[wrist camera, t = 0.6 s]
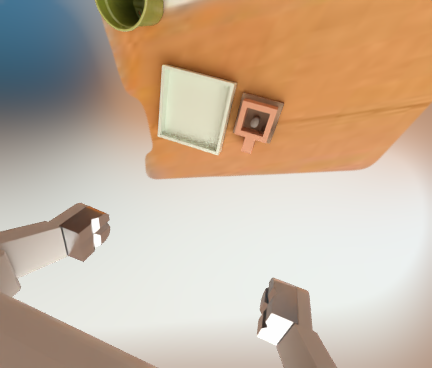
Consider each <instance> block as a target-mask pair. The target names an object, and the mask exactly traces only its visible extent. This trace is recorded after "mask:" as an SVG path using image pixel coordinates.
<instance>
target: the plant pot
mask: <svg viewBox="0 0 432 368" xmlns="http://www.w3.org/2000/svg"><path fill="white" fill-rule="evenodd" d="M95 2H96V5H97V8H98V10H99V12H100V14H101V15H102V17H103V18H104V20H105V21H106V22H107V23H108V24H109V25H110V26H111V27H113V28H114V29H116V30H119V31H123V32H126V31H131V30H134V29H135V28H137V27H138V26H152V25H155V24H157V23H158V22H159V21H160V19H161V17H162V15H163V0H95ZM138 11H140V13H141V16H140V15H139V13H138Z"/></svg>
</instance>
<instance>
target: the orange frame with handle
mask: <svg viewBox="0 0 432 368" xmlns="http://www.w3.org/2000/svg"><path fill="white" fill-rule="evenodd" d="M248 108H251V109H254V110H258V111H261V112H265V113H268V114H270V116H269V119H268V122H267V125H266V128H265V131H264V133H263V132H260V131H257V130H253V129H250V128H246V127H243V126H244V122H245V119H246V115H247V112H248ZM277 110H278V107H276V106H273V105H269V104H266V103H262V102H258V101H255V100H251V99H247V98H245V99H244V100H243V103H242V106H241V110H240V114H239V118H238V122H237V126H236V130H235V133H234V134H236V135H240V136H243V137H245V139H244V143H243V146H242V150H241V151H243V152H246V153H249V154H251V152H252V150H253V147H254V143H255V140H257V141H260V142H263V143H266V142H267V139H268V136H269V133H270V130H271V128H272V125H273V122H274V119H275V116H276V113H277Z"/></svg>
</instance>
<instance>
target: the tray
mask: <svg viewBox="0 0 432 368" xmlns="http://www.w3.org/2000/svg"><path fill="white" fill-rule="evenodd" d="M236 86H237V83H236V82H232V81H229V80H225V79H221V78H217V77H214V76H210V75H206V74H202V73H198V72H195V71H191V70H187V69H183V68H180V67H176V66H172V65H162V76H161V92H160V108H159V123H158V136H159V137H162V138H165V139H168V140H171V141H174V142H178V143H181V144H184V145H187V146H190V147H193V148H196V149H200V150H203V151H206V152H209V153H212V154H215V155H219V153H220V152H221V150H222V146H223V141H224V137H225V133H226V129H227V124H228V120H229V116H230V112H231V107H232V103H233V99H234V95H235V90H236Z"/></svg>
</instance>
